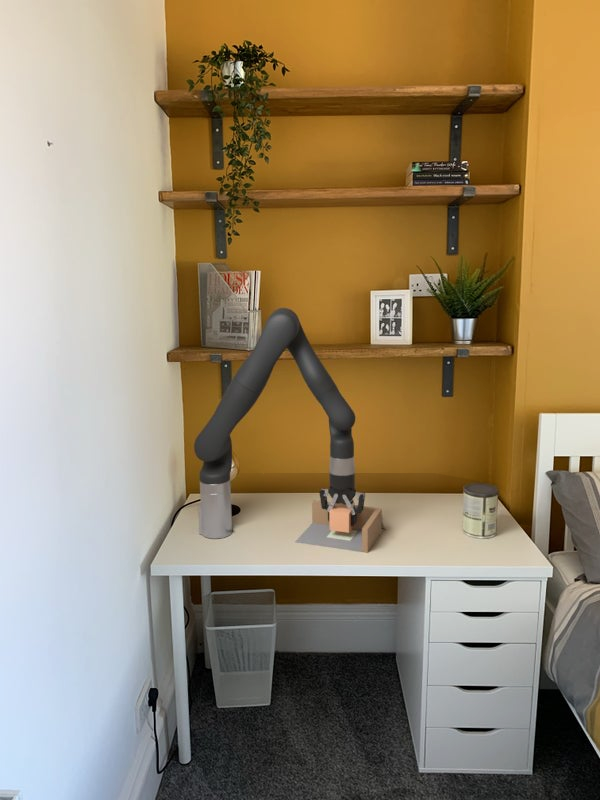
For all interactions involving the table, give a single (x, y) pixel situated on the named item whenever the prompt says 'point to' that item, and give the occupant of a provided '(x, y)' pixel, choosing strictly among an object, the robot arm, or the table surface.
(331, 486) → the robot arm
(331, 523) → the cube
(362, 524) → the arena
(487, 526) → the coffee can
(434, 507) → the table surface
